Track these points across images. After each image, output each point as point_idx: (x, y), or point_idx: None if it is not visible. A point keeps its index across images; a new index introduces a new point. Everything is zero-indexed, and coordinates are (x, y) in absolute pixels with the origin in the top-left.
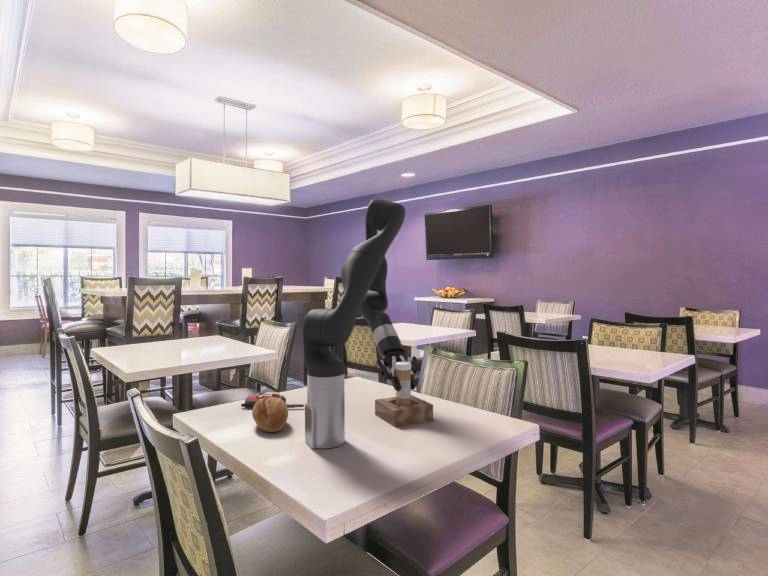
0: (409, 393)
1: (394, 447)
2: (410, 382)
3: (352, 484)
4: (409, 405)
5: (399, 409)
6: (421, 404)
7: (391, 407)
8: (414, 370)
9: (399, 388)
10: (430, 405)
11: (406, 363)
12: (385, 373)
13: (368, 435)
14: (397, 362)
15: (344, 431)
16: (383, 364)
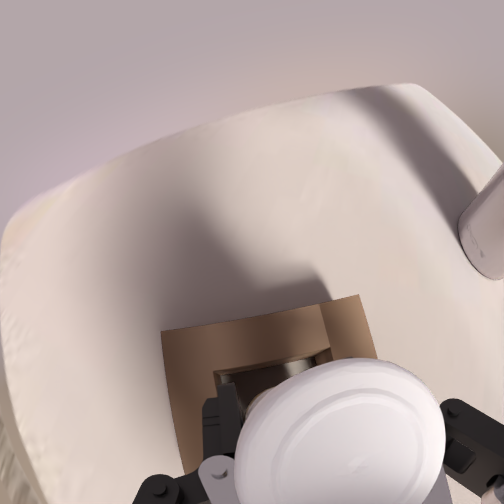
0: (262, 393)
1: (358, 176)
2: (253, 406)
3: (411, 108)
4: (273, 355)
5: (335, 304)
6: (209, 355)
7: (363, 342)
8: (174, 493)
9: (346, 357)
10: (174, 330)
11: (333, 398)
12: (470, 408)
13: (416, 260)
14: (423, 484)
15: (470, 217)
16: (498, 492)
